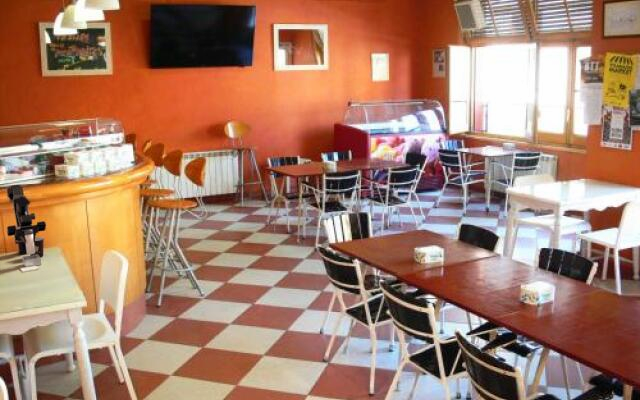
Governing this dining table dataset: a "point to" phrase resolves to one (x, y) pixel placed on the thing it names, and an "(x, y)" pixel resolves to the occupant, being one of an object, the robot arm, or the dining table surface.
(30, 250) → the salt shaker
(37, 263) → the motor housing
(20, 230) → the robot arm
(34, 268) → the pad
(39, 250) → the coffee mug
